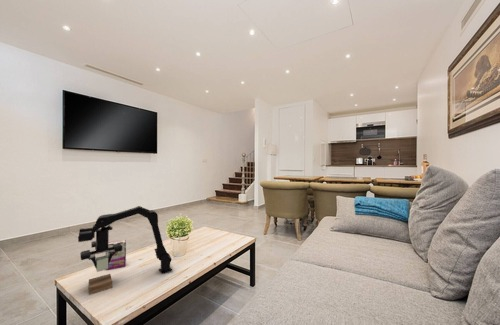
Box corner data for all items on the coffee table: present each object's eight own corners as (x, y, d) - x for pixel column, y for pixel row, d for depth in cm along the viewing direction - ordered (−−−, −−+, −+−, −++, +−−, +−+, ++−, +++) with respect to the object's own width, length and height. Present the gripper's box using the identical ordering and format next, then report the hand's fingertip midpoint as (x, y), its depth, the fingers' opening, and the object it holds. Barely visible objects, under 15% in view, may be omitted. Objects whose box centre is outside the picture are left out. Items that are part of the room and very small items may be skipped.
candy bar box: (126, 263, 142) (126, 239, 142) (125, 266, 137) (125, 241, 137) (106, 267, 136) (106, 242, 137) (105, 270, 132) (105, 244, 132)
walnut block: (112, 288, 114) (112, 281, 114) (89, 295, 107) (89, 288, 107) (110, 280, 121) (110, 273, 121) (88, 286, 115) (88, 279, 115)
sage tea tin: (108, 268, 115) (108, 258, 115) (96, 271, 112) (97, 260, 112) (106, 265, 119) (106, 255, 119) (95, 268, 116) (96, 257, 116)
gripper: (118, 231, 128) (118, 256, 128) (79, 238, 115) (79, 266, 115) (122, 236, 119) (122, 263, 119) (81, 244, 107) (80, 274, 107)
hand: (101, 266), depth 115 cm, fingers closed on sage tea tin, 5 cm apart
